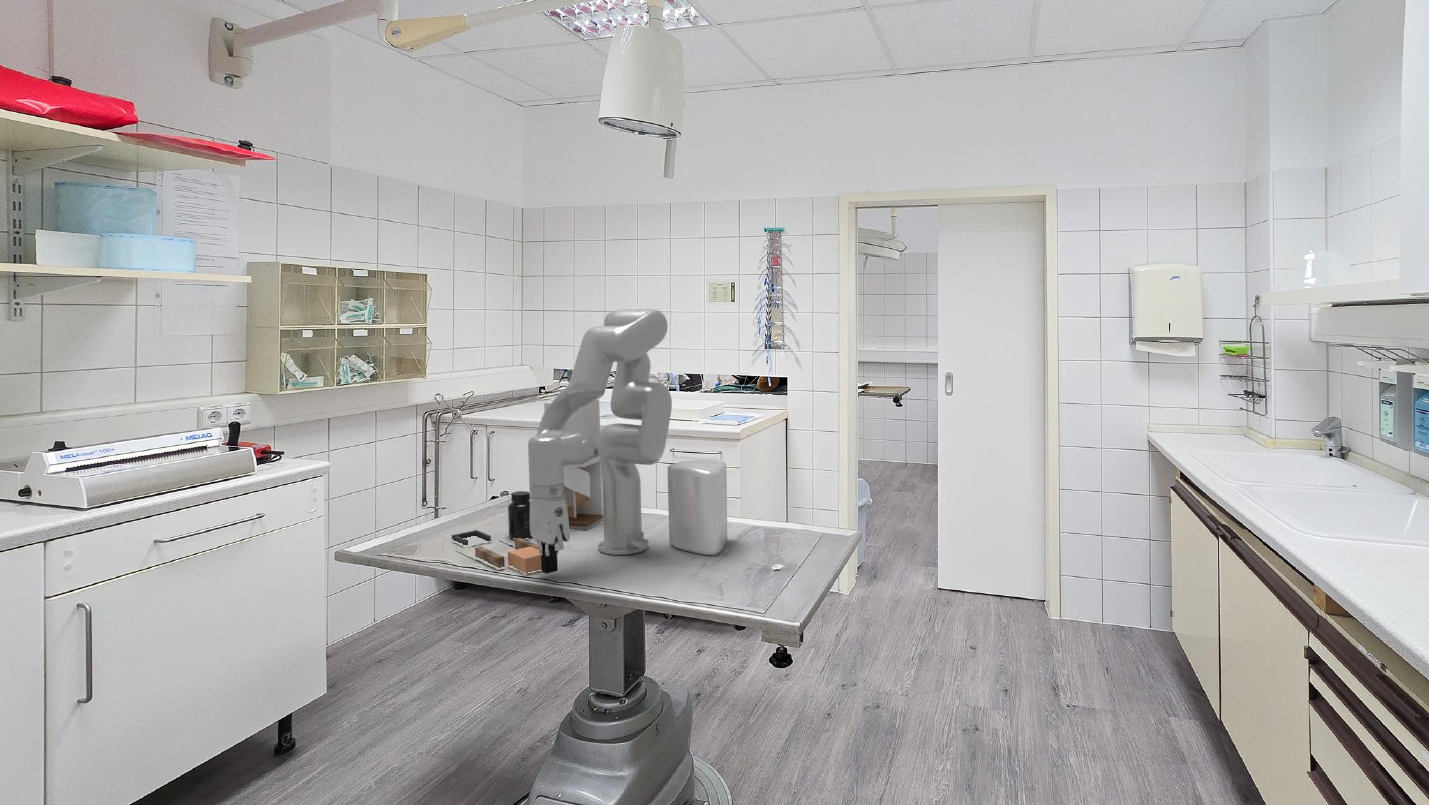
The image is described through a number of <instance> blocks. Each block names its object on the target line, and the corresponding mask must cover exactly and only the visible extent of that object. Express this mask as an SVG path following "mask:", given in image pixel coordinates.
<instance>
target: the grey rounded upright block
mask: <svg viewBox="0 0 1429 805" xmlns="http://www.w3.org/2000/svg"><path fill="white" fill-rule="evenodd" d="M727 489H728V488H727V464H726V461H725V462H724V461H720V460H719V461H718V460H704V459H695V460H694V459H693V460H683V461H678V462H674V463H671V464H669V465H668V466H667V498H668V499H667V502H668V508H667V509H668V540H669V542H668V544H669V545H670V546H672V547H674V548H676V549H677V550H682V551H686V552H690V553H694V554H699V555H700V554H701V555H704V556H706V555H707V556H715V555H718V554H719V553H720V552H722V550H723V548H724V547H725V545H726V544H727V542H728V498H727V497H728V496H727V492H728V490H727Z"/></svg>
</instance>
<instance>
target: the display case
mask: <svg viewBox="0 0 1429 805" xmlns="http://www.w3.org/2000/svg"><path fill="white" fill-rule="evenodd" d="M551 402H552V401H548V402H544V404H543V406H544V412H545V410H546V409H547V407H548V406H549V405H550V404H551ZM600 414H601V413H600V399H597V400H595V401H593V402H592V403H589V404H587V405H585V406H583V407H582V408H580V409H578V410H577V411H576V412H574V413H573V414H572V415H571V416H570V418H569V419H568V420H567V422H566V424H565V426H564V429H563V430H570V431H579V432H584V433H586V434H588V435H590V436H591V437H592V438H593V440H594V442H595V453H594V455H593V457H592V458H591V459H590V460H589V461H587V462H586V463H583V464H579V465H565V466H564V467H563V468H564V498H565V501H566V505H567V511H568V519H569V529H574V530H573V531H578V530H581V532H588V531H589V530H591V529H592V527H593V528H595V527H596V526H598V525H600V524H601V523H603V522H604V520H603V489H602V470H601V463H600V458H599V454H598V450H597V437H598V434H599V432H600V431H601V416H600ZM602 521H603V522H602ZM600 522H601V523H600ZM597 524H598V525H597ZM588 529H589V530H588ZM587 530H588V531H587Z"/></svg>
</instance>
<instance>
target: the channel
mask: <svg viewBox="0 0 1429 805" xmlns="http://www.w3.org/2000/svg"><path fill="white" fill-rule="evenodd" d="M513 540H514V541H513V542H514V545H515V548H514V550H515V549H516V550H517V549H522V548H526V547H530V546H531V547H533V548H536V549H538V550H539V545H538V543H534V542H531V541H529V540H528V539H526V540H524V539H522V538H516V539H513ZM474 551H475V552H474V554H475V555H474V557H475V556H476V557H478V558H480V559H483V560H484V561H487V562H488V563H490V564H492V565H494V566H496V567H498V568H501V567H505V566H506V564H505V556H503V555H501V554H500V553H499V554H498V553H497V552H495V551H492V550H490V549H488V548H485V547H483V546H482V545H479V546H477V547H476V546H475V547H474ZM505 568H506V567H505Z"/></svg>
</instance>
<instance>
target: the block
mask: <svg viewBox="0 0 1429 805" xmlns="http://www.w3.org/2000/svg"><path fill="white" fill-rule="evenodd" d="M541 555H543V554H540V550H538V549H536V548H533V547H531V546H530V547H526V548H522V549H517V550H515V549H514V550H509V551H507V561H508V562H507V563H508V564H507V565H508V566H509V565H510V566H513V567H514V568H516V569H518V570H519V571H522V572H524V573H528V572H532V571H537V570H541Z"/></svg>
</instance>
